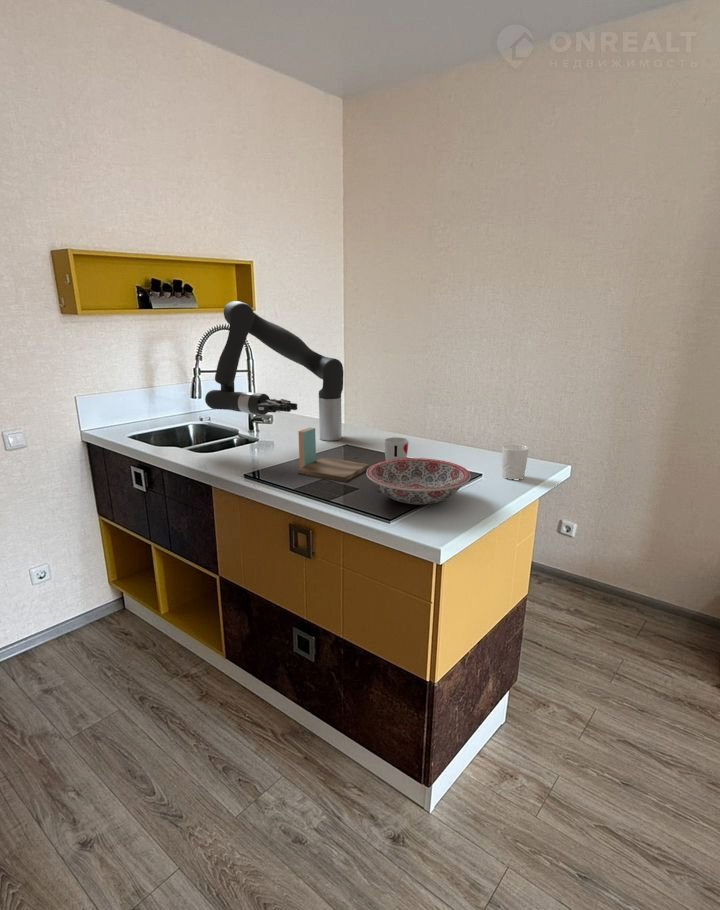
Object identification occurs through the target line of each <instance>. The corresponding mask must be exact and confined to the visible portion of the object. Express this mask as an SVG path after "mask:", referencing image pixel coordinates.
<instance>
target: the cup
mask: <svg viewBox="0 0 720 910" xmlns="http://www.w3.org/2000/svg"><path fill="white" fill-rule="evenodd" d="M383 445H384V455H385V461H387V460H393V459H403V458H408V452H409V451H408V450H409V439H408V438H406V437H405V438H404V437H398V436H397V437H396V436H395V437H394V436H393V437H387V438H384V439H383Z"/></svg>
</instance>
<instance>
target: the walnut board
mask: <svg viewBox="0 0 720 910" xmlns="http://www.w3.org/2000/svg"><path fill="white" fill-rule="evenodd" d="M369 467H370V464H369V463H362V462H357V461H352V460H346V459H345V460H344V459H338V458H332V457H324V456H323V457H321V458H320V459H316V461H315V462H313V463H311V464H308V465H306V466H304V467H301V468H300V467H299V468H298V469H297V473H298V474H299V473H301V474H300V475H304V474H305V476H311V477H316V478H320V479H321V478H322V479H325V480H326V479H328V480H332V481H339V482H342V483H343V482H344V483H346V482H347V481H349V480H351V479H353V478H354V477H356V476H358V475H361V474H362V473H364V472H367V470H368V468H369Z"/></svg>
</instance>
